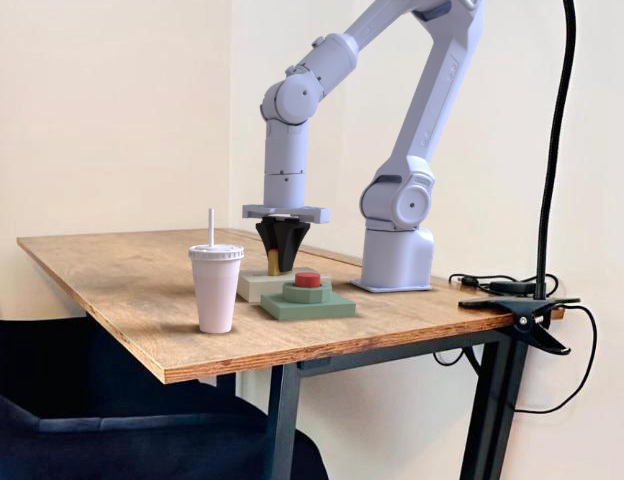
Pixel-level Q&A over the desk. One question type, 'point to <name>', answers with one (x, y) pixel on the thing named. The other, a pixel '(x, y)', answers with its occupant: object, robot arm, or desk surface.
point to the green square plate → (307, 303)
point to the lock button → (307, 280)
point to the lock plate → (267, 282)
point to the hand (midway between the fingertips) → (280, 270)
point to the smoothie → (215, 281)
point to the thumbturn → (274, 263)
